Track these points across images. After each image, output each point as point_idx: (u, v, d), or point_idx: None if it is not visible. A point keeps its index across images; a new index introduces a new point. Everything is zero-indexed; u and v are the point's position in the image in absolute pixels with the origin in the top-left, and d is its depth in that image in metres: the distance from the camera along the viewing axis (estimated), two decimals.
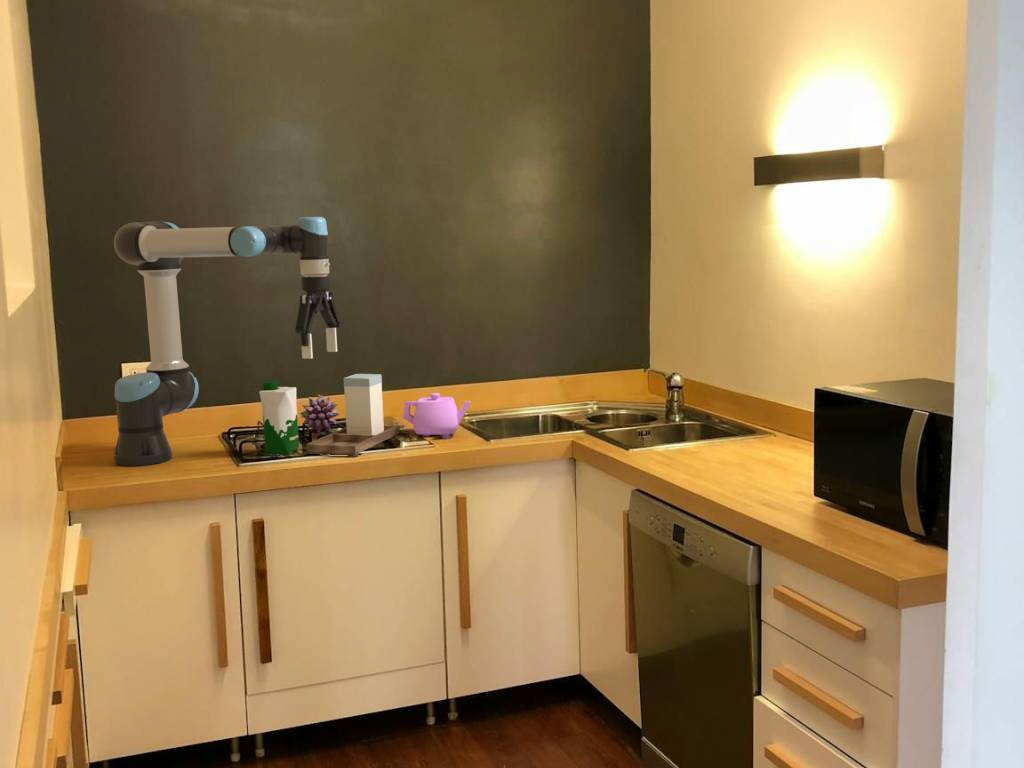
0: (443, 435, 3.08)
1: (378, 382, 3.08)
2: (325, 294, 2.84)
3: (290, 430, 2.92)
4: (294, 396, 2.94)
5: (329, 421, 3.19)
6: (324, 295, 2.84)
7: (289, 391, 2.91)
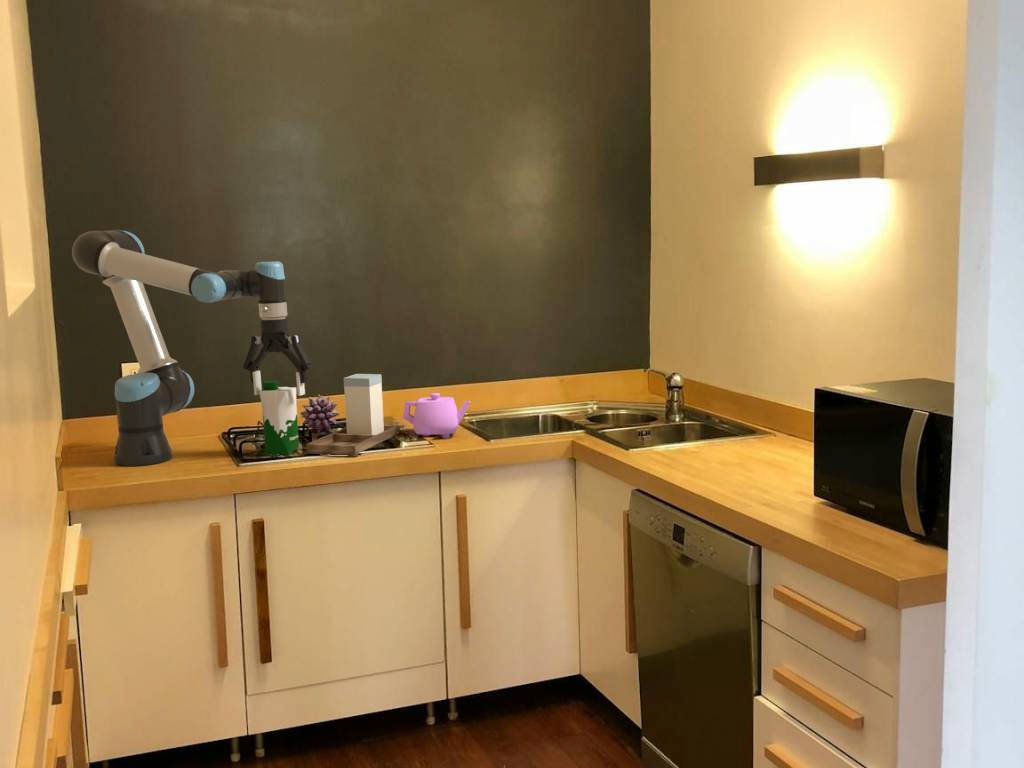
0: (443, 435, 3.08)
1: (378, 382, 3.08)
2: (282, 337, 2.89)
3: (290, 430, 2.92)
4: (294, 396, 2.94)
5: (329, 421, 3.19)
6: (280, 338, 2.90)
7: (289, 391, 2.91)
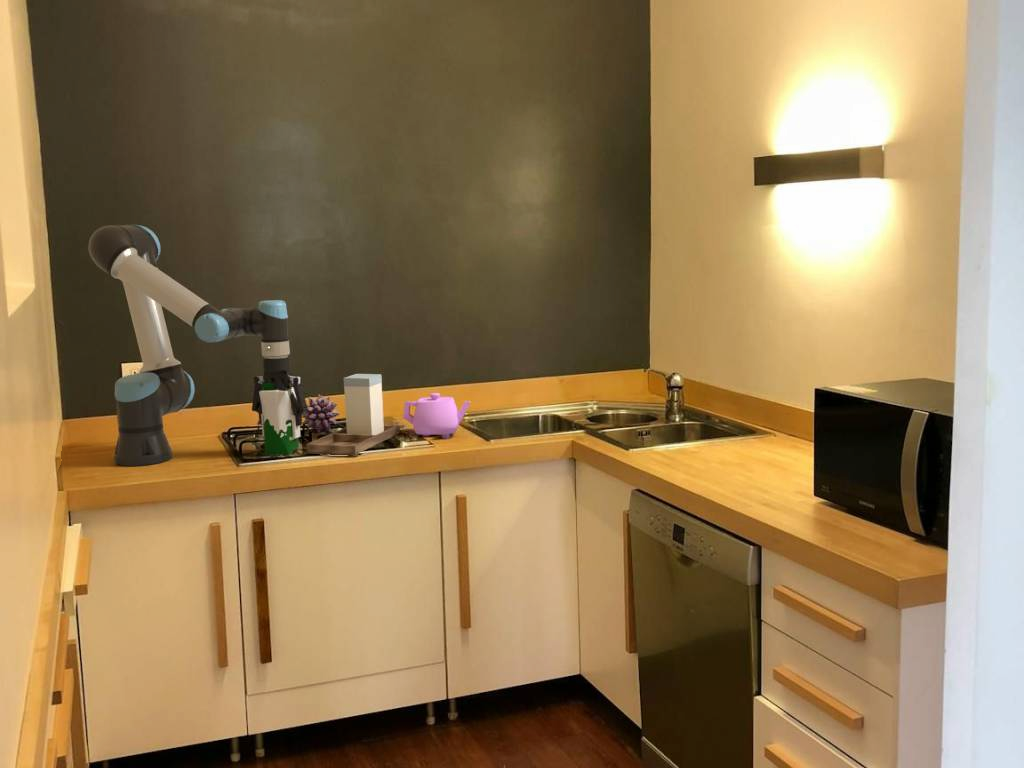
0: (443, 435, 3.08)
1: (378, 382, 3.08)
2: (284, 376, 2.91)
3: (290, 430, 2.92)
4: None
5: (329, 421, 3.19)
6: (282, 376, 2.91)
7: (289, 391, 2.91)
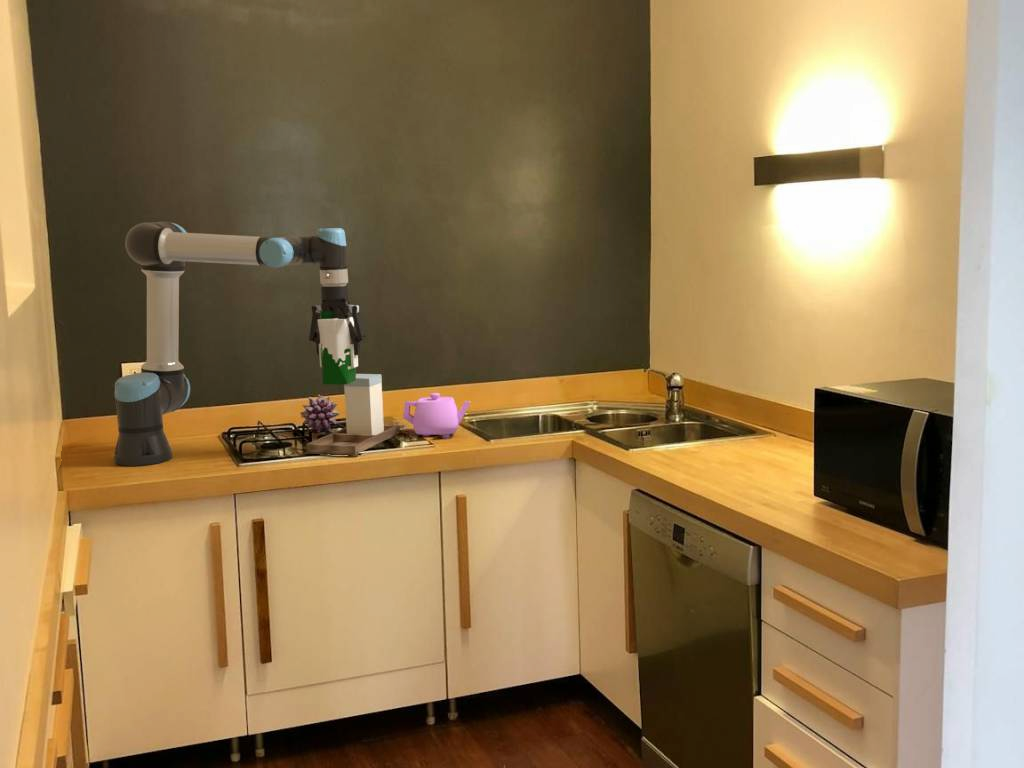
0: (443, 435, 3.08)
1: (378, 382, 3.08)
2: (343, 304, 2.88)
3: (348, 359, 2.90)
4: None
5: (329, 421, 3.19)
6: (341, 304, 2.89)
7: (347, 320, 2.89)
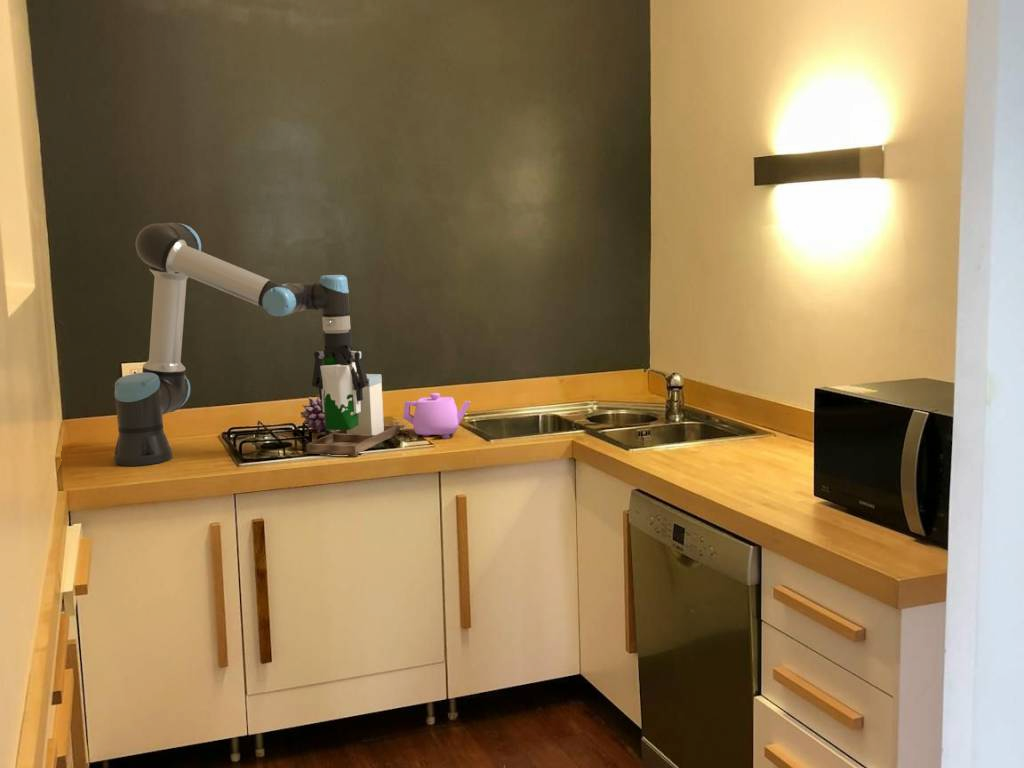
0: (443, 435, 3.08)
1: (378, 382, 3.08)
2: (346, 350, 2.90)
3: (351, 405, 2.92)
4: None
5: None
6: (344, 351, 2.91)
7: (350, 366, 2.91)
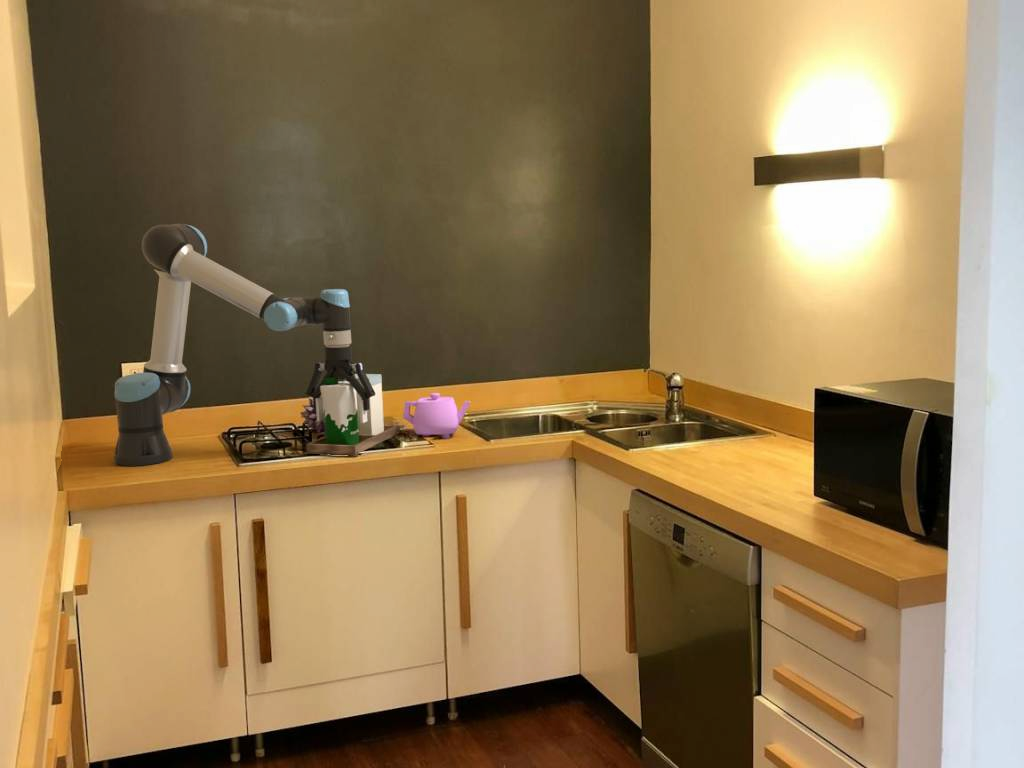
0: (443, 435, 3.08)
1: (378, 382, 3.08)
2: (346, 365, 2.91)
3: (351, 425, 2.93)
4: (354, 390, 2.95)
5: None
6: (344, 365, 2.91)
7: (349, 386, 2.92)
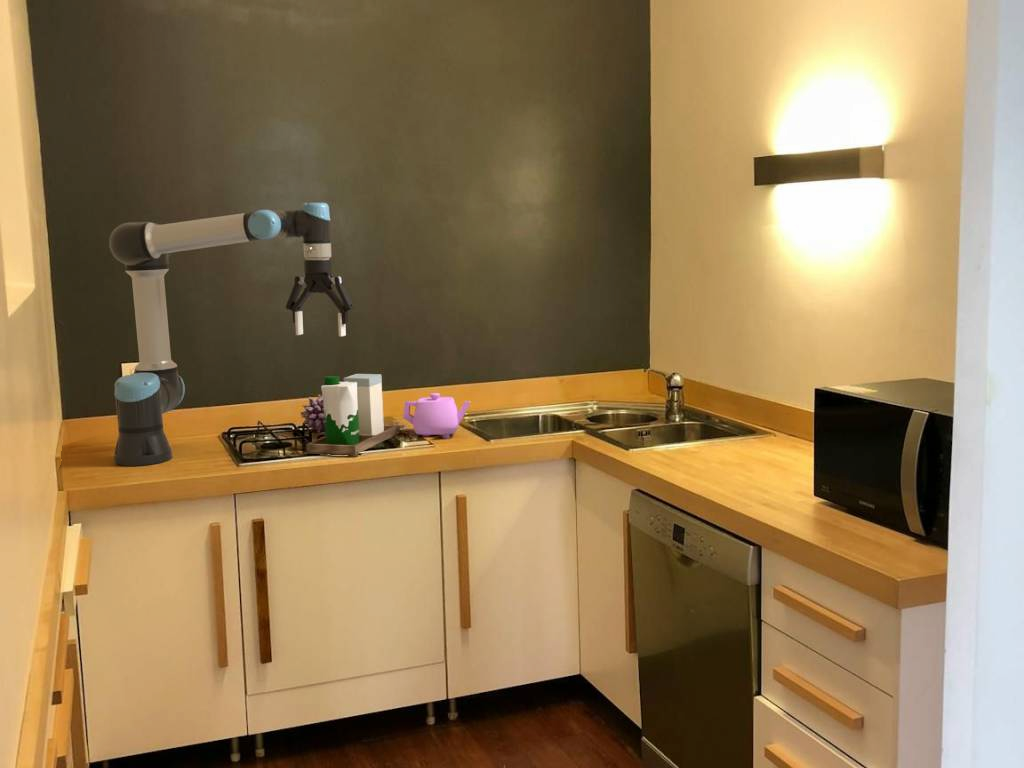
0: (443, 435, 3.08)
1: (378, 382, 3.08)
2: (325, 278, 2.93)
3: (351, 425, 2.93)
4: (355, 391, 2.95)
5: None
6: (323, 279, 2.93)
7: (350, 386, 2.92)
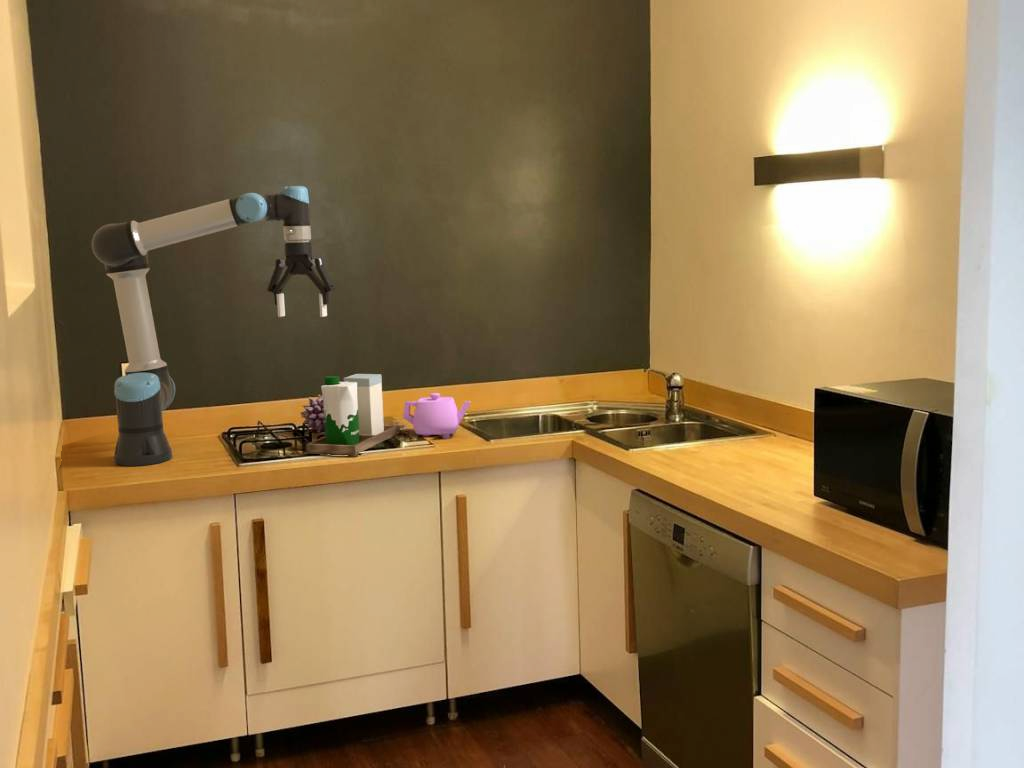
0: (443, 435, 3.08)
1: (378, 382, 3.08)
2: (306, 260, 2.99)
3: (351, 425, 2.93)
4: (355, 391, 2.95)
5: None
6: (304, 261, 2.99)
7: (350, 386, 2.92)
